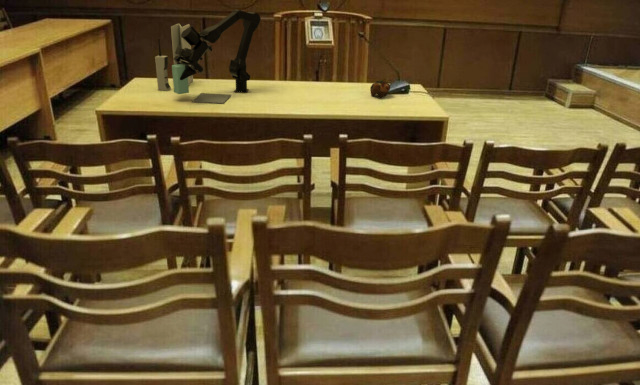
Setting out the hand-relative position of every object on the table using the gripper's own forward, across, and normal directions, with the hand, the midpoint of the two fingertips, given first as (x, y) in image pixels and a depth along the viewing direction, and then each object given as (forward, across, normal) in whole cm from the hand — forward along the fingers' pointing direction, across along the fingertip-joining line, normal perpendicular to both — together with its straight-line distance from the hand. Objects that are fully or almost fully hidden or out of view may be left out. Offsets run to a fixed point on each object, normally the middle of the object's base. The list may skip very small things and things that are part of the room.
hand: (177, 78), depth 231 cm
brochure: (-5, -28, +20) cm, 35 cm away
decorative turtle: (-55, +47, +70) cm, 101 cm away
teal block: (+4, 0, +6) cm, 7 cm away
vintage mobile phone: (+5, -23, +10) cm, 25 cm away
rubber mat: (-3, +6, +17) cm, 18 cm away
